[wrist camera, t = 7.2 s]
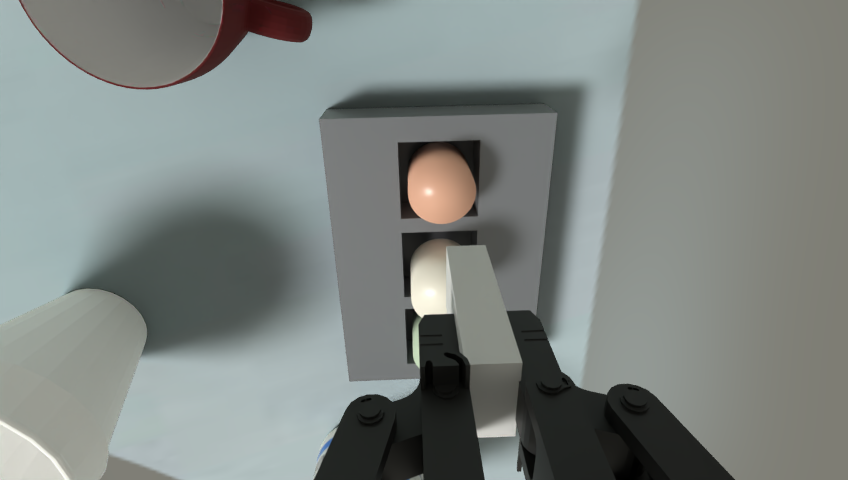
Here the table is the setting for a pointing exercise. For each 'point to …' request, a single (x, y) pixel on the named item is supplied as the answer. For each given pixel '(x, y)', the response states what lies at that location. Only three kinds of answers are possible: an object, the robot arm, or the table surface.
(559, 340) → the table surface
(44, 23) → the mug
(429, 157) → the button terracotta
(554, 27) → the table surface
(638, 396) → the robot arm
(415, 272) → the button cream
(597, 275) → the table surface
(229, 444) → the table surface
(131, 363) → the cup
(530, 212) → the button panel
